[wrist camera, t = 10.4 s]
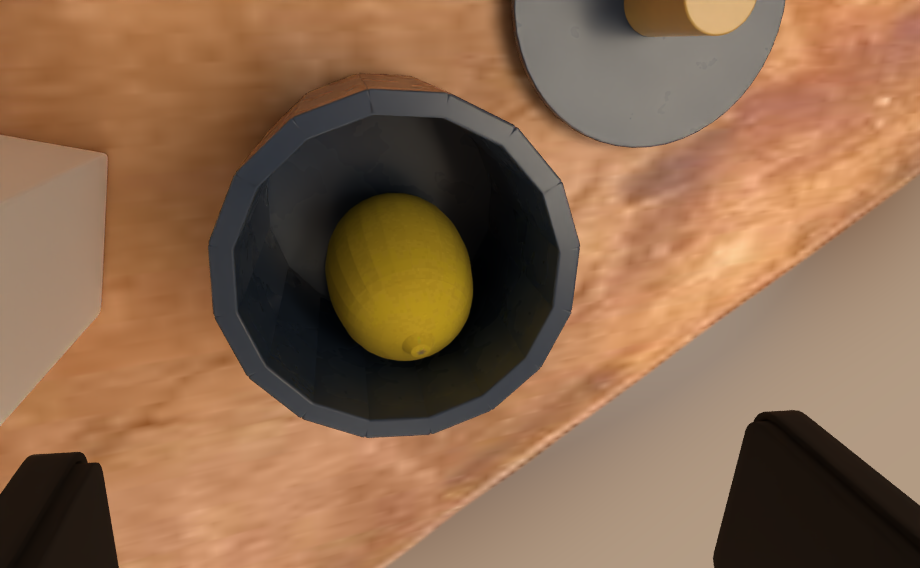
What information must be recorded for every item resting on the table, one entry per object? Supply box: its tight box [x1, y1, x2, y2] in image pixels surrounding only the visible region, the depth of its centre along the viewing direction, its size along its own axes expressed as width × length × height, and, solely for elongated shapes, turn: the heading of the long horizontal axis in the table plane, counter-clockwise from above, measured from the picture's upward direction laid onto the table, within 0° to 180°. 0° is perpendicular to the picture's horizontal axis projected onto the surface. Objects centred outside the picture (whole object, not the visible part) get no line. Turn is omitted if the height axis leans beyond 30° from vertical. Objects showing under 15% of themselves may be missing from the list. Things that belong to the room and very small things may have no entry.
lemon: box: [325, 193, 473, 361], centre depth 25 cm, size 6×6×8 cm
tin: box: [208, 73, 580, 438], centre depth 24 cm, size 11×11×10 cm
